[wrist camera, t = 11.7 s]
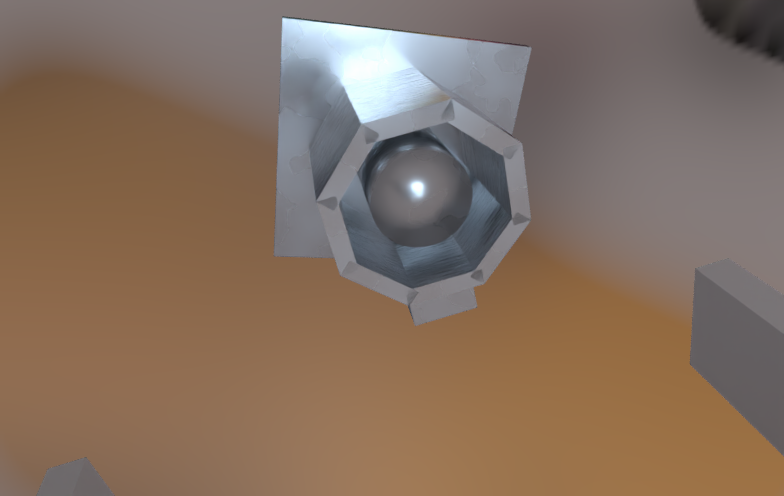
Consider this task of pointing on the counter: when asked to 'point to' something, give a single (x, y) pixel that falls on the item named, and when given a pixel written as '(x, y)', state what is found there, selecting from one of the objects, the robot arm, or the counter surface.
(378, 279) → the grey piece
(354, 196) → the square plate with knob
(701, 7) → the counter surface
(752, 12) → the counter surface
